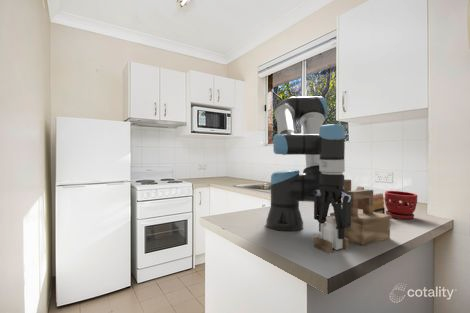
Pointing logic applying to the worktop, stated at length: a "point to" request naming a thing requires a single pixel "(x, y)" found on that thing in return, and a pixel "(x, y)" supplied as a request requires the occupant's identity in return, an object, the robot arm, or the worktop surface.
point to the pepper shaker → (330, 230)
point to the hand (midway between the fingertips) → (331, 245)
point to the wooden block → (348, 188)
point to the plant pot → (400, 204)
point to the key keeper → (328, 244)
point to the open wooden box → (368, 232)
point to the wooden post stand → (364, 208)
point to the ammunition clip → (378, 203)
